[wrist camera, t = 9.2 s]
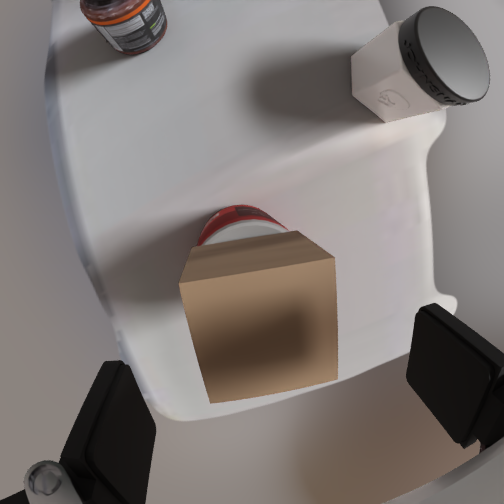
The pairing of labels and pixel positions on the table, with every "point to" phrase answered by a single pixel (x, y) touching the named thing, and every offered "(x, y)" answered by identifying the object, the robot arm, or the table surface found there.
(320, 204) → the table surface
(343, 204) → the table surface
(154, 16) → the supplement bottle
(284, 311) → the walnut cube
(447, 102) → the jar
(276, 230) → the canned food
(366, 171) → the table surface
